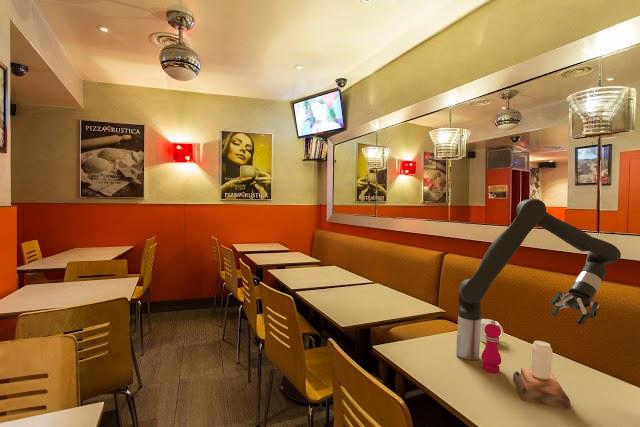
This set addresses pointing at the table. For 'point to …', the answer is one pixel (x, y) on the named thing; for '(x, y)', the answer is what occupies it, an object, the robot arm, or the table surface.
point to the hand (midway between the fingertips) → (565, 319)
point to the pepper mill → (491, 349)
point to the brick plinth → (540, 395)
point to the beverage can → (541, 360)
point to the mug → (482, 332)
